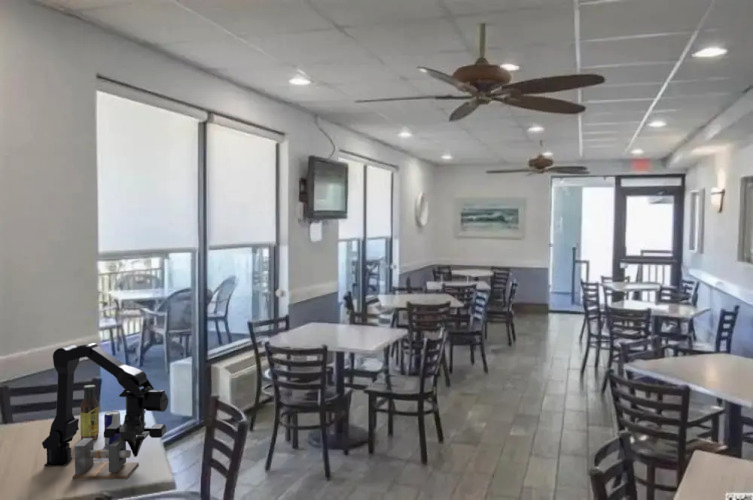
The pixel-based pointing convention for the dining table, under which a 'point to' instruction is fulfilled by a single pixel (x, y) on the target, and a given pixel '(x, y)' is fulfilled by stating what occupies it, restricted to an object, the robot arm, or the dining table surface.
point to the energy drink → (109, 419)
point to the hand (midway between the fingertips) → (135, 456)
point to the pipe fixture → (92, 470)
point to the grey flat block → (116, 454)
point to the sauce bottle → (89, 414)
